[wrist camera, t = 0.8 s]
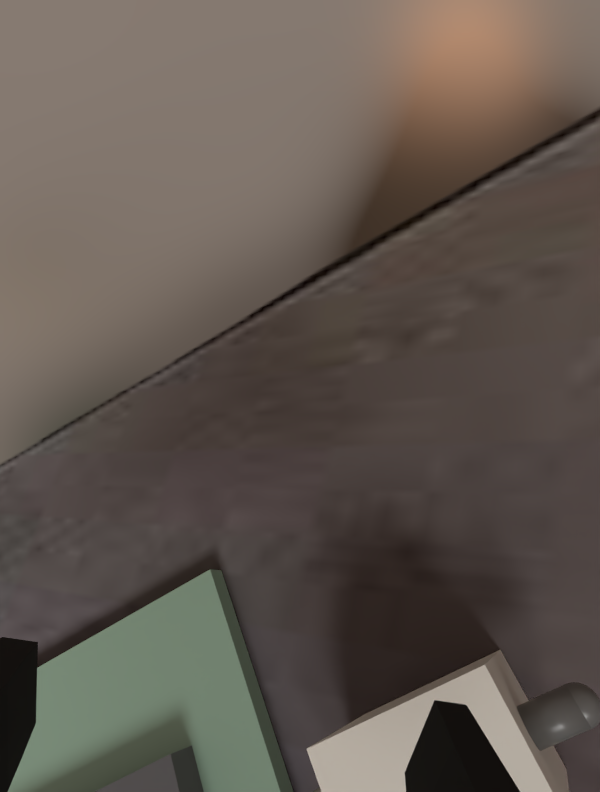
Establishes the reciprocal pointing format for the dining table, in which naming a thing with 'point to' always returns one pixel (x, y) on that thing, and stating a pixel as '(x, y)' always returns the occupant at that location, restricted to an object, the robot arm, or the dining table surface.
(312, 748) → the plug
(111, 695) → the board
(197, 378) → the dining table surface
